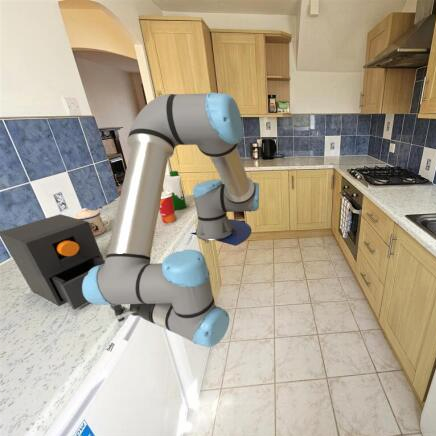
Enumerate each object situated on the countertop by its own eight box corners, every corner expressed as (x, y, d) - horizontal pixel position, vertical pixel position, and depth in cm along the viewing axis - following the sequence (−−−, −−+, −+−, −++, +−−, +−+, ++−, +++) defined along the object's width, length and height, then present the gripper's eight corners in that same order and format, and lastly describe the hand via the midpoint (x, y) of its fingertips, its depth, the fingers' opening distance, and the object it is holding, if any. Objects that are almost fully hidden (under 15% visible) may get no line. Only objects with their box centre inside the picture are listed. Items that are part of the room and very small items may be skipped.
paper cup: (161, 219, 120) (154, 192, 115) (178, 216, 123) (172, 190, 117) (160, 225, 114) (152, 196, 108) (177, 222, 116) (171, 194, 111)
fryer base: (110, 277, 77) (100, 251, 73) (59, 306, 66) (43, 277, 62) (83, 266, 83) (72, 242, 80) (31, 291, 72) (16, 263, 68)
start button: (81, 251, 68) (76, 239, 66) (64, 259, 64) (58, 246, 63) (76, 250, 69) (71, 237, 67) (59, 257, 65) (53, 244, 64)
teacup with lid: (77, 239, 102) (66, 214, 98) (84, 230, 110) (75, 206, 105) (110, 234, 106) (102, 209, 102) (115, 226, 114) (107, 202, 109)
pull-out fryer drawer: (124, 283, 73) (116, 261, 70) (77, 311, 63) (65, 287, 60) (94, 271, 79) (85, 250, 76) (46, 294, 69) (34, 272, 66)
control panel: (100, 251, 73) (88, 221, 70) (43, 277, 62) (25, 243, 58) (72, 242, 80) (60, 214, 76) (16, 263, 68) (-2, 232, 64)
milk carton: (188, 207, 134) (181, 172, 126) (171, 212, 129) (162, 175, 121) (182, 204, 140) (175, 169, 132) (166, 208, 135) (157, 172, 127)
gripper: (143, 342, 51) (80, 309, 60) (191, 301, 61) (131, 279, 71) (133, 315, 48) (68, 284, 57) (185, 277, 58) (123, 257, 68)
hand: (103, 281), depth 64 cm, fingers closed
